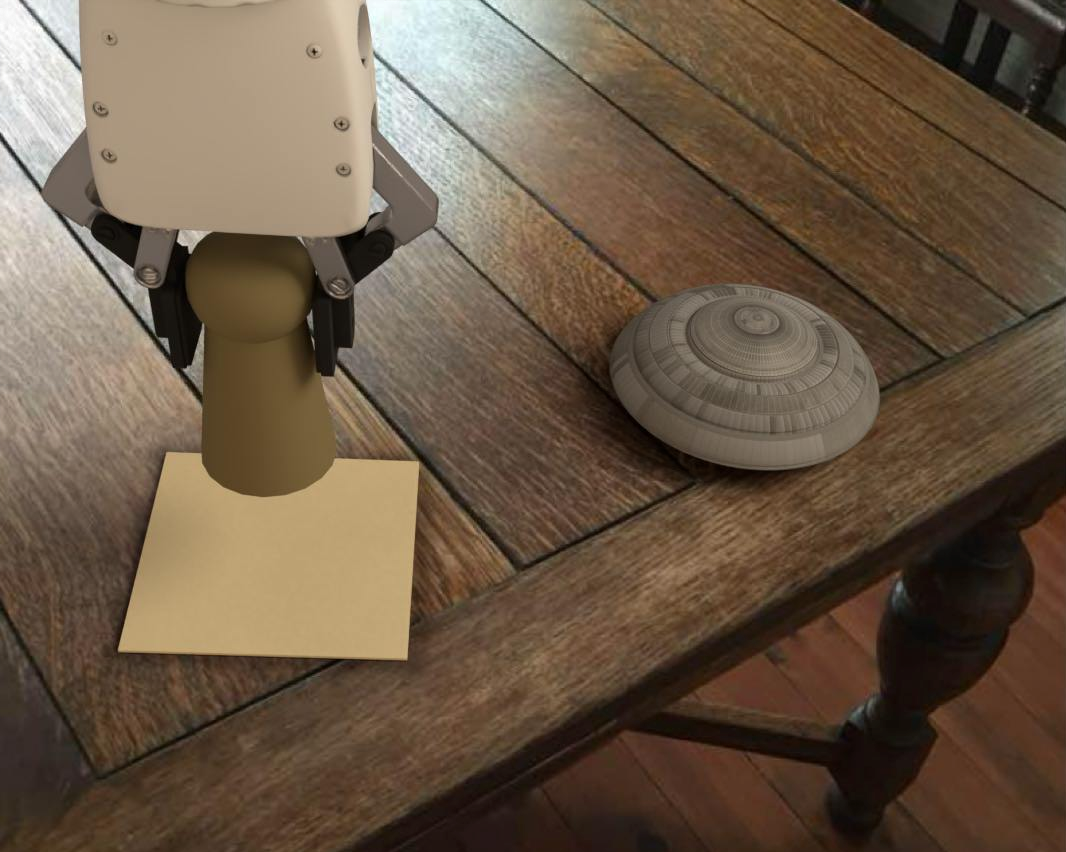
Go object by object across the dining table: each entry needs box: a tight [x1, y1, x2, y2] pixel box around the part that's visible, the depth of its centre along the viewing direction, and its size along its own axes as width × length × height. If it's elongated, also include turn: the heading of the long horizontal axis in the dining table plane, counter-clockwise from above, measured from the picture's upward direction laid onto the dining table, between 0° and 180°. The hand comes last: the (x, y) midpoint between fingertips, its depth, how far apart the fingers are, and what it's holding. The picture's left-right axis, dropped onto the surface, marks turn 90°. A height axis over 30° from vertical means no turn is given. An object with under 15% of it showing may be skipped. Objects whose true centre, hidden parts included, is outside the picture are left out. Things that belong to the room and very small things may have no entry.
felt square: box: [117, 451, 420, 661], centre depth 66 cm, size 13×13×1 cm
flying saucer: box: [609, 283, 881, 471], centre depth 74 cm, size 15×15×6 cm
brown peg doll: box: [185, 231, 338, 497], centre depth 57 cm, size 6×6×11 cm
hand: (258, 348), depth 57 cm, fingers closed on brown peg doll, 5 cm apart
